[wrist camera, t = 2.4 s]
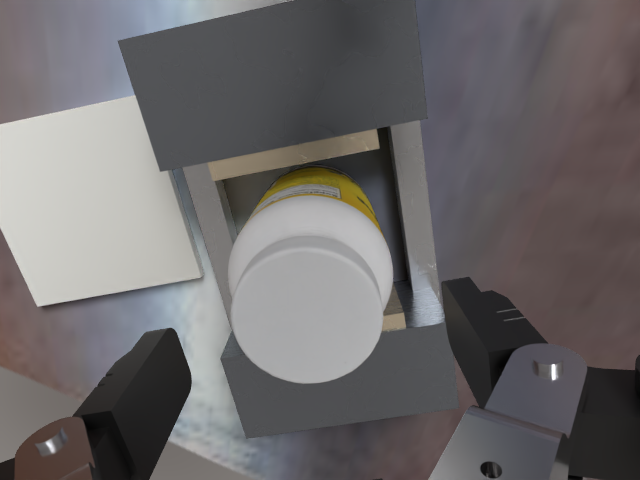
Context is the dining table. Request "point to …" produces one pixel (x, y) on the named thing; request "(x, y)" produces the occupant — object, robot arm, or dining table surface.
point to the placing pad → (91, 205)
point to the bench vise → (297, 148)
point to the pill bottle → (310, 277)
